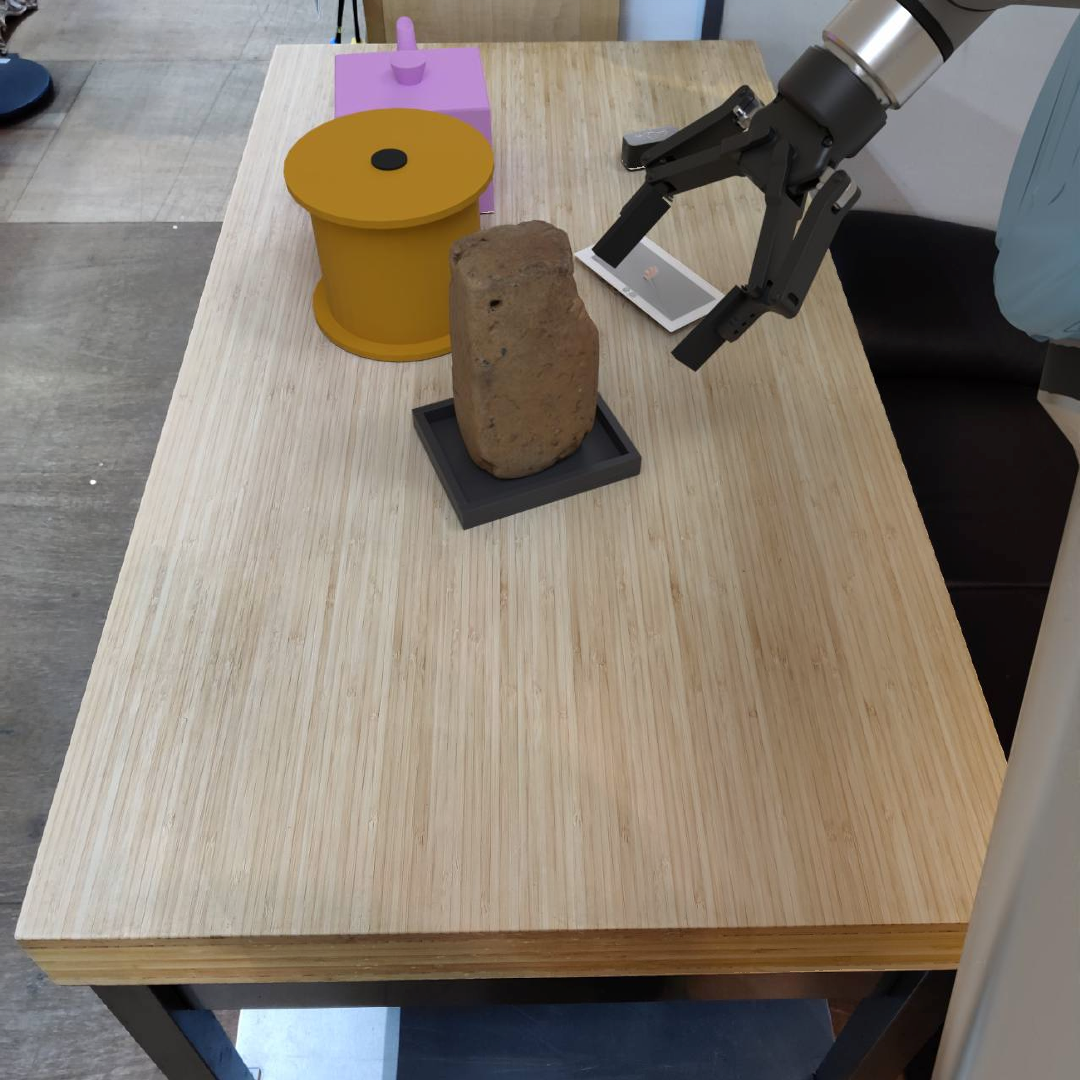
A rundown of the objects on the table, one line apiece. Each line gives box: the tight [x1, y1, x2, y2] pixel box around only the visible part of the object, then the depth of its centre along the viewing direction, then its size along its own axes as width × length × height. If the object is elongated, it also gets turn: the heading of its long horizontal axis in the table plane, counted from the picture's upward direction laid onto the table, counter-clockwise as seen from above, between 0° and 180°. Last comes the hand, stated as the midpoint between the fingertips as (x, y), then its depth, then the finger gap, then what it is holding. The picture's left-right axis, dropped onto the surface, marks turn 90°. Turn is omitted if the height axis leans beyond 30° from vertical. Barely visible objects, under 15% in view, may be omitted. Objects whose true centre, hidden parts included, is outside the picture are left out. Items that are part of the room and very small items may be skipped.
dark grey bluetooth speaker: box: [620, 125, 679, 168], centre depth 111 cm, size 5×7×3 cm, turn 109°
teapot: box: [333, 15, 495, 213], centre depth 104 cm, size 15×25×14 cm, turn 7°
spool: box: [282, 108, 496, 363], centre depth 90 cm, size 18×18×15 cm
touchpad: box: [573, 235, 726, 333], centre depth 97 cm, size 8×15×2 cm, turn 36°
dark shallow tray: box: [411, 391, 643, 531], centre depth 83 cm, size 13×16×2 cm
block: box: [448, 219, 600, 479], centre depth 75 cm, size 11×8×20 cm
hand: (640, 308), depth 76 cm, fingers open, 13 cm apart
